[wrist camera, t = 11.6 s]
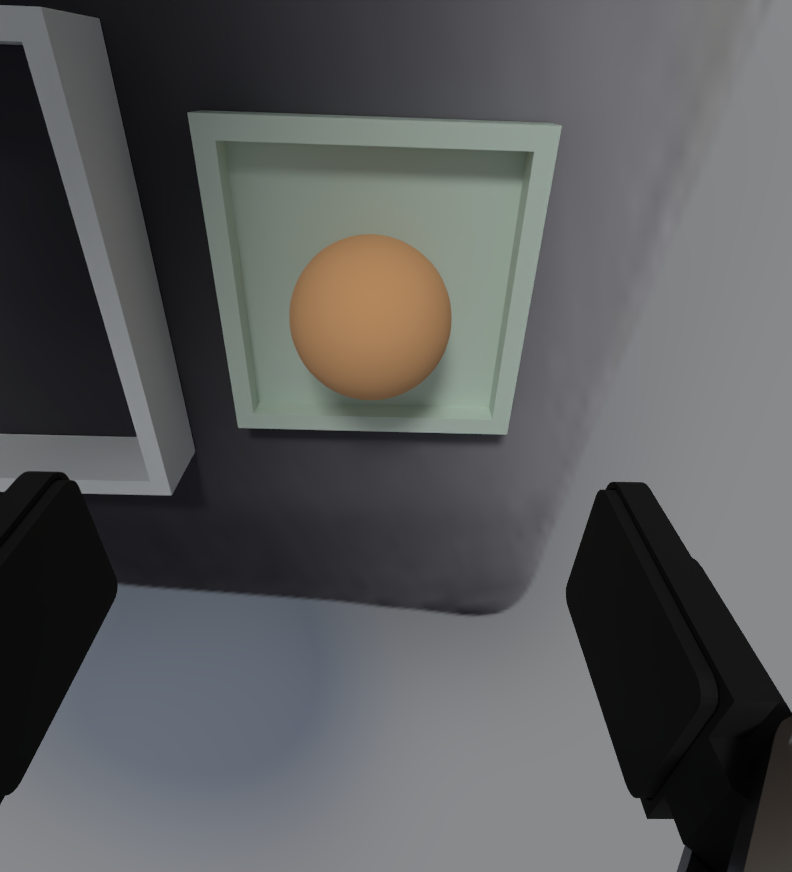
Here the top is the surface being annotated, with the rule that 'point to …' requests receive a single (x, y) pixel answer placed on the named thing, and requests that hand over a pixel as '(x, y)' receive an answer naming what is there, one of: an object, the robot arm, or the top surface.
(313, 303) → the ball
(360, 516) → the top surface
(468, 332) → the tray
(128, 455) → the grey square frame
